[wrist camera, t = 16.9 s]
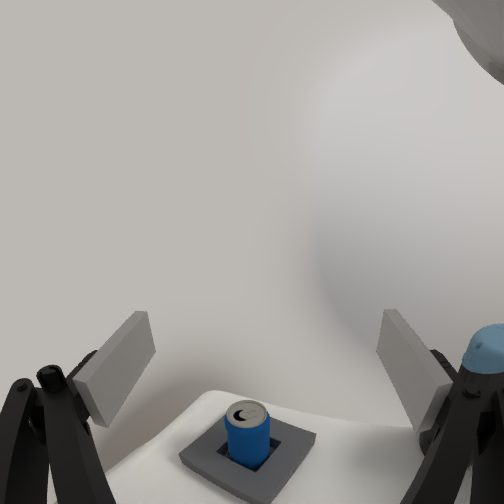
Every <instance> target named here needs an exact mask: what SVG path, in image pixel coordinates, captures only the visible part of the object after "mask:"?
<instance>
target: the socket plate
mask: <svg viewBox="0 0 504 504" xmlns="http://www.w3.org/2000/svg"><path fill="white" fill-rule="evenodd" d="M224 418H225V415H224V416H223V417H222V418H221V419H220V420H219V421H218V422H216V423H215V424H214V425H213V426H212V427H211V428H210V429H208V430H207V431H206V432H205V433H204V434H202V435H201V436H200V437H199V438H198V439H196V440H195V441H194V442H193V443H192V444H190V445H189V446H188V447H187V448H185V449H184V450H183V451H182V452H180V453H179V456H180V459H181V461H182V463H183V464H184V465H186V466H187V467H189V468H190V469H192V470H193V471H195V472H196V473H198V474H199V475H201V476H203V477H204V478H206V479H207V480H209V481H211V482H212V483H214V484H216V485H217V486H219V487H221V488H222V489H224V490H226V491H228V492H230V493H231V494H233V495H235V496H237V497H239V498H241V499H243V500H245V501H247V502H249V503H251V504H270V503H271V502H272V501H273V499H274V498H275V497H276V496H277V495H278V493H279V492H280V491H281V489H282V488H283V487H284V486H285V484H286V483H287V482H288V480H289V479H290V478H291V476H292V475H293V474H294V472H295V471H296V469H297V468H298V467H299V465H300V464H301V462H302V461H303V460H304V458H305V457H306V455H307V454H308V452H309V451H310V449H311V448H312V446H313V445H314V443H315V438H316V433H313V432H310V431H307V430H304V429H301V428H298V427H295V426H293V425H290V424H287V423H285V422H282V421H279V420H277V419H274V418H272V417H270V447H272V448H275V449H276V450H275V451H274V452H273V453H272V455H271V456H270V457H269V458H268V459H267V461H266V462H265V463H264V464H263V465H262V466H261V468H260V469H259V470H258V471H257V472H256V473H255V472H253V471H251V470H249V469H247V468H245V467H243V466H241V465H239V464H237V463H235V462H233V461H231V460H230V459H228V458H226V457H224V456H223V455H224V454H225V453H226V452H227V451H228V450H229V448H228V442H227V436H226V429H225V423H224Z"/></svg>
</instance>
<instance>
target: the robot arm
mask: <svg viewBox="0 0 504 504" xmlns="http://www.w3.org/2000/svg"><path fill="white" fill-rule="evenodd" d="M432 1H433V2H435V3H436V4H437V5H438V6H439V7H440V8H441V9H442V10H444V11H445V12H446V13H447V14H448V15H449V16H450V17H451V18H452V19H453V22H454V25H455V28H456V30H457V33H458V35H459V37H460V39H461V40H462V42H463V44H464V45H465V47H466V48H467V50H468V51H469V52H470V54H471V55H472V56H473V58H474V59H475V60H476V61H477V62H478V63H479V65H480V66H481V67H482V68H483V69H484V70H486V71H487V72H488V73H489V74H490V75H491V76H492V77H494V78H495V79H496V80H498V81H499V82H500V83H502V84H503V85H504V0H432ZM155 352H156V351H155V346H154V342H153V338H152V333H151V329H150V324H149V319H148V314H147V312H144V311H135V312H134V313H133V314H132V315H131V316H130V317H129V318H128V319H127V320H126V321H125V322H124V323H123V325H122V326H121V327H120V328H119V329H118V330H117V331H116V332H115V333H114V334H113V335H112V336H111V337H110V338H109V339H108V340H107V341H106V342H105V344H104V345H103V346H102V347H101V348H100V349H99V350H94V351H93V352H91V353H89V354H88V355H87V356H86V357H85V358H84V359H83V360H82V362H80V363H79V364H78V366H76V367H75V368H74V369H73V371H72V372H71V373H70V374H69V375H68V376H67V377H66V378H65V377H64V375H63V372H62V370H61V368H60V367H59V366H57V365H48V366H45V367H43V368H42V369H40V370H39V371H38V372H37V375H36V377H37V379H38V381H39V383H40V385H41V387H42V388H37V387H34V385H33V383H32V381H31V380H30V379H27V378H22V379H19V380H17V381H15V382H14V383H13V385H12V386H11V388H10V391H9V393H8V395H7V398H6V401H5V403H4V406H3V408H2V411H1V413H0V504H47V487H48V486H47V485H48V473H49V462H50V468H51V474H52V479H53V483H54V488H55V493H56V496H57V501H58V504H116V502H115V499H114V497H113V495H112V492H111V490H110V487H109V485H108V482H107V480H106V477H105V474H104V472H103V469H102V466H101V463H100V460H99V457H98V454H97V451H96V448H95V444H94V441H93V438H92V434H91V430H90V427H89V424H88V422H87V421H86V420H87V419H88V417H89V416H91V418H92V420H93V422H94V423H95V424H97V425H100V426H103V427H106V428H108V427H109V426H110V424H111V422H112V421H113V419H114V417H115V416H116V414H117V413H118V411H119V409H120V408H121V406H122V404H123V403H124V401H125V399H126V398H127V396H128V395H129V393H130V391H131V390H132V388H133V387H134V385H135V384H136V382H137V380H138V379H139V377H140V376H141V374H142V373H143V371H144V369H145V368H146V366H147V365H148V363H149V361H150V360H151V358H152V357H153V355H154V354H155ZM376 352H377V354H378V356H379V358H380V360H381V361H382V364H383V366H384V367H385V370H386V371H387V373H388V375H389V377H390V379H391V382H392V383H393V386H394V387H395V389H396V392H397V394H398V396H399V398H400V400H401V402H402V404H403V406H404V409H405V411H406V413H407V415H408V417H409V419H410V421H411V424H412V426H413V428H414V430H415V433H419V432H421V434H420V446H421V449H422V452H423V453H424V455H425V458H424V460H423V462H422V464H421V466H420V468H419V470H418V472H417V474H416V476H415V478H414V480H413V482H412V484H411V486H410V487H409V489H408V491H407V493H406V495H405V496H404V498H403V500H402V501H401V503H400V504H454V502H455V499H456V497H457V494H458V492H459V489H460V486H461V484H462V481H463V478H464V475H465V472H466V469H467V467H469V466H471V465H472V464H473V473H472V487H471V497H470V504H504V324H493V325H490V326H486V327H483V328H481V329H480V330H479V331H477V332H476V333H475V334H474V335H473V337H472V339H471V340H470V343H469V346H468V348H467V350H466V352H465V354H464V355H463V358H462V364H461V366H460V369H459V372H458V373H457V372H456V370H455V369H454V368H453V367H452V365H451V364H450V363H449V362H448V360H447V359H446V358H445V356H444V355H443V354H442V353H440V352H438V351H437V350H435V349H434V350H429V349H428V348H427V347H426V345H424V343H423V342H422V340H421V339H420V338H419V336H418V335H417V334H416V333H415V331H414V330H413V329H412V328H411V327H410V325H409V324H408V323H407V322H406V320H405V319H404V318H403V317H402V316H401V314H400V313H399V312H398V311H397V310H396V309H389V310H384V312H383V318H382V324H381V330H380V335H379V340H378V345H377V351H376ZM29 421H30V422H29Z"/></svg>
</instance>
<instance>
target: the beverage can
mask: <svg viewBox="0 0 504 504" xmlns="http://www.w3.org/2000/svg"><path fill="white" fill-rule="evenodd" d="M224 423H225V429H226V436H227V442H228V448H229V455H230V459H231V461H233V462H235V463H237V464H239V465H241V466H243V467H245V468H247V469H256V468H259V467H261V466H262V465H263V464H264V463H265V462H266V461H267V459H268V458H269V446H270V416H269V414H268V412H267V410H266V408H265V407H264V406H263V405H262V404H261V403H259V402H256V401H252V400H243V401H239V402H236V403H234V404H232V405H231V406H230V407H229V408H228V410H227V413H226V415H225V418H224Z"/></svg>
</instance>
